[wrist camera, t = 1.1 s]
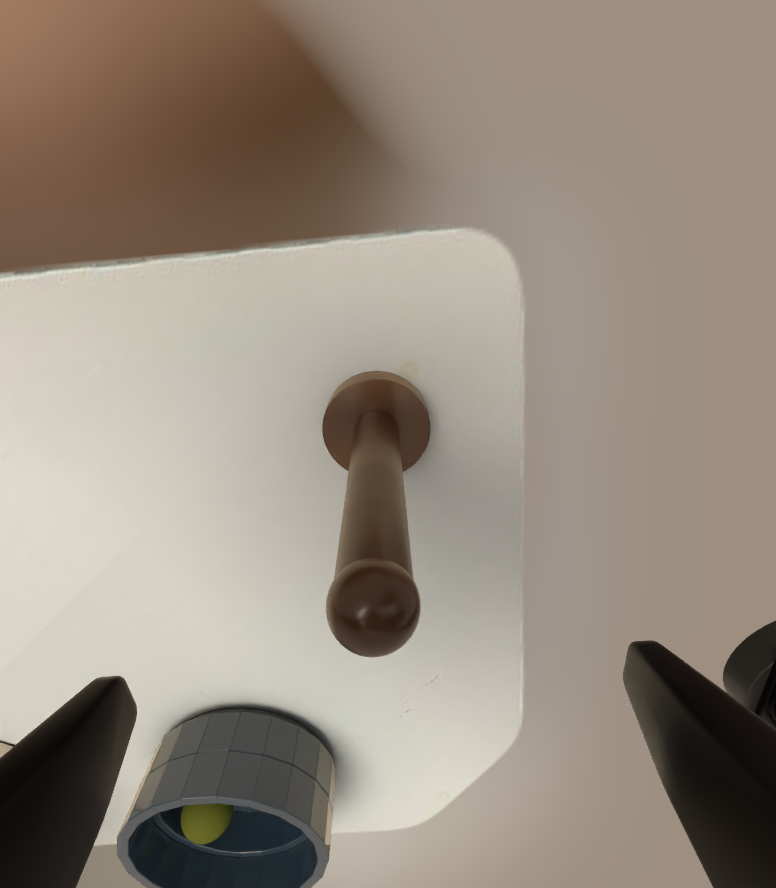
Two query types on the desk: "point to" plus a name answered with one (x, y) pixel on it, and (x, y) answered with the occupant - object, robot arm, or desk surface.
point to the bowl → (255, 805)
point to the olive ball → (205, 821)
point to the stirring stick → (374, 511)
